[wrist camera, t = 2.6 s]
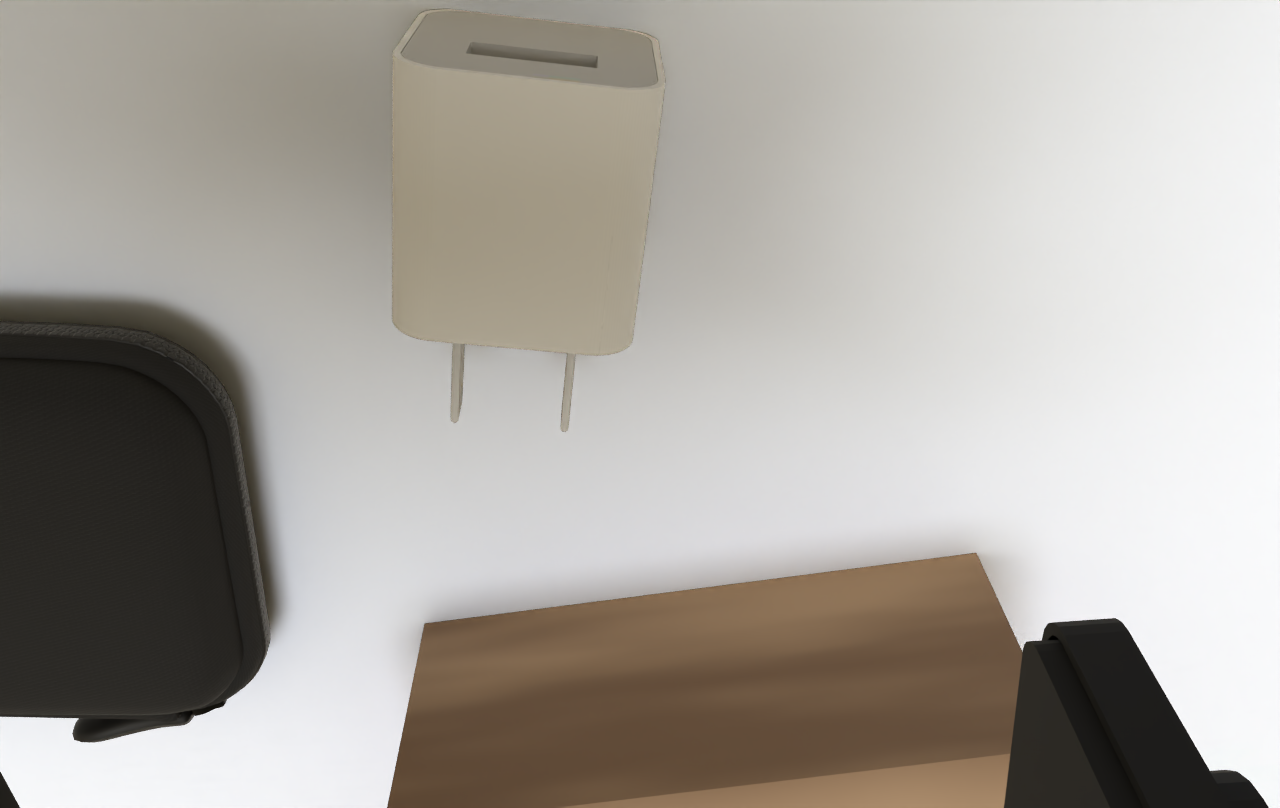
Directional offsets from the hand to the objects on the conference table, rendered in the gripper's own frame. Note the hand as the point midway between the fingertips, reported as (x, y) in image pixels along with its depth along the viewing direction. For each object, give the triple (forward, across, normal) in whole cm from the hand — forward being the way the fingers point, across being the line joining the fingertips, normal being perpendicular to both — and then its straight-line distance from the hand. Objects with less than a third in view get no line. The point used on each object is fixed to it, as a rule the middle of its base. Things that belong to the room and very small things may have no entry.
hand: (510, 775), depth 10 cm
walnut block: (+13, -2, +15) cm, 20 cm away
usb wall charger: (+13, +1, -1) cm, 13 cm away
